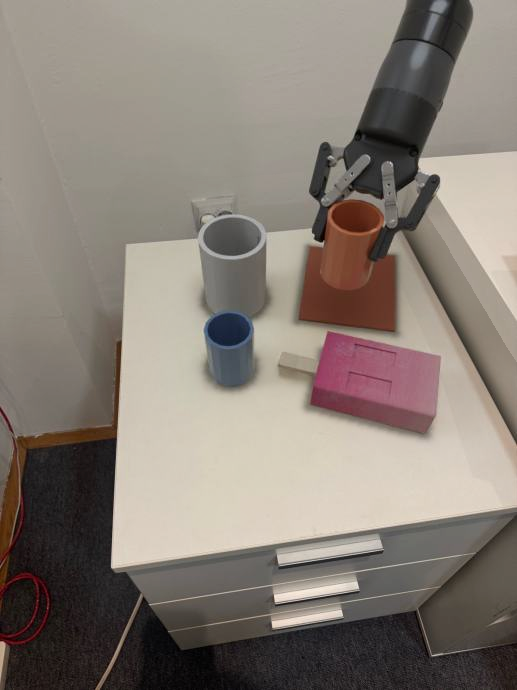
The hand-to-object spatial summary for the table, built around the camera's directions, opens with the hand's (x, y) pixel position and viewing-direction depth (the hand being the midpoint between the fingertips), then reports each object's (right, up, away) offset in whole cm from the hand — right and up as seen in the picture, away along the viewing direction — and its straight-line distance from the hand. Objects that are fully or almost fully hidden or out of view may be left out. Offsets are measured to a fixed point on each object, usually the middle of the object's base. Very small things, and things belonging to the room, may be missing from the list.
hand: (345, 250), depth 55 cm
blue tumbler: (-13, -14, +11) cm, 22 cm away
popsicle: (+3, -16, +10) cm, 19 cm away
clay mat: (+4, -2, +21) cm, 21 cm away
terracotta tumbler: (+1, -2, +5) cm, 5 cm away
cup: (-13, -4, +19) cm, 24 cm away
